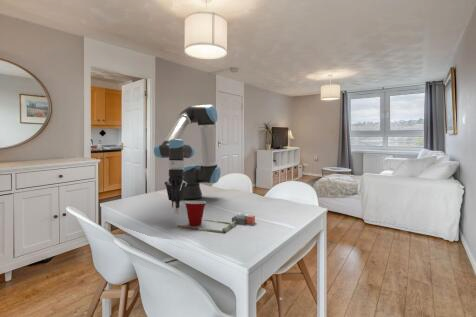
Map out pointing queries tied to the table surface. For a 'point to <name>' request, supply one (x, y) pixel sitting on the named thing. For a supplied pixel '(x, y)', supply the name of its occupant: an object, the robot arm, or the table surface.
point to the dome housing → (245, 220)
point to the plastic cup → (195, 212)
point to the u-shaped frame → (212, 229)
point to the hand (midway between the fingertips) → (175, 214)
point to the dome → (240, 215)
